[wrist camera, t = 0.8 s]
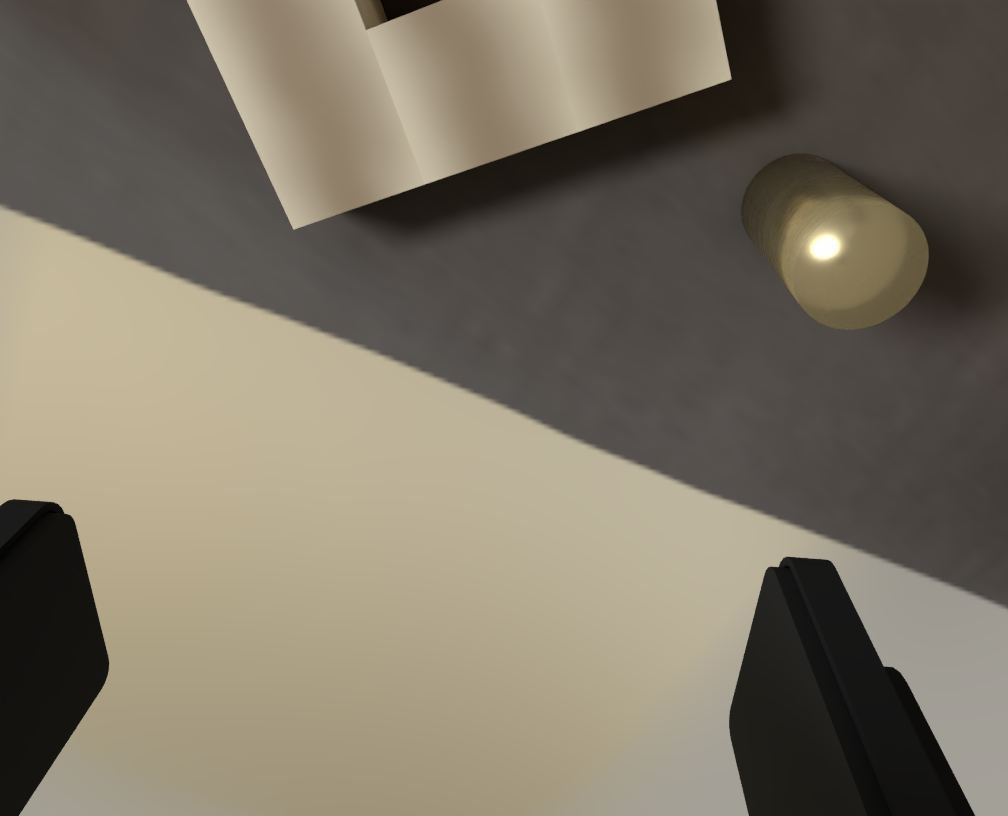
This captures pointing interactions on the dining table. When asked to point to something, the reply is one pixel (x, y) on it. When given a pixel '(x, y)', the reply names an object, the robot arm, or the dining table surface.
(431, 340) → the dining table surface
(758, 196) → the brass pin
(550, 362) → the dining table surface
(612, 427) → the dining table surface
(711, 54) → the block
